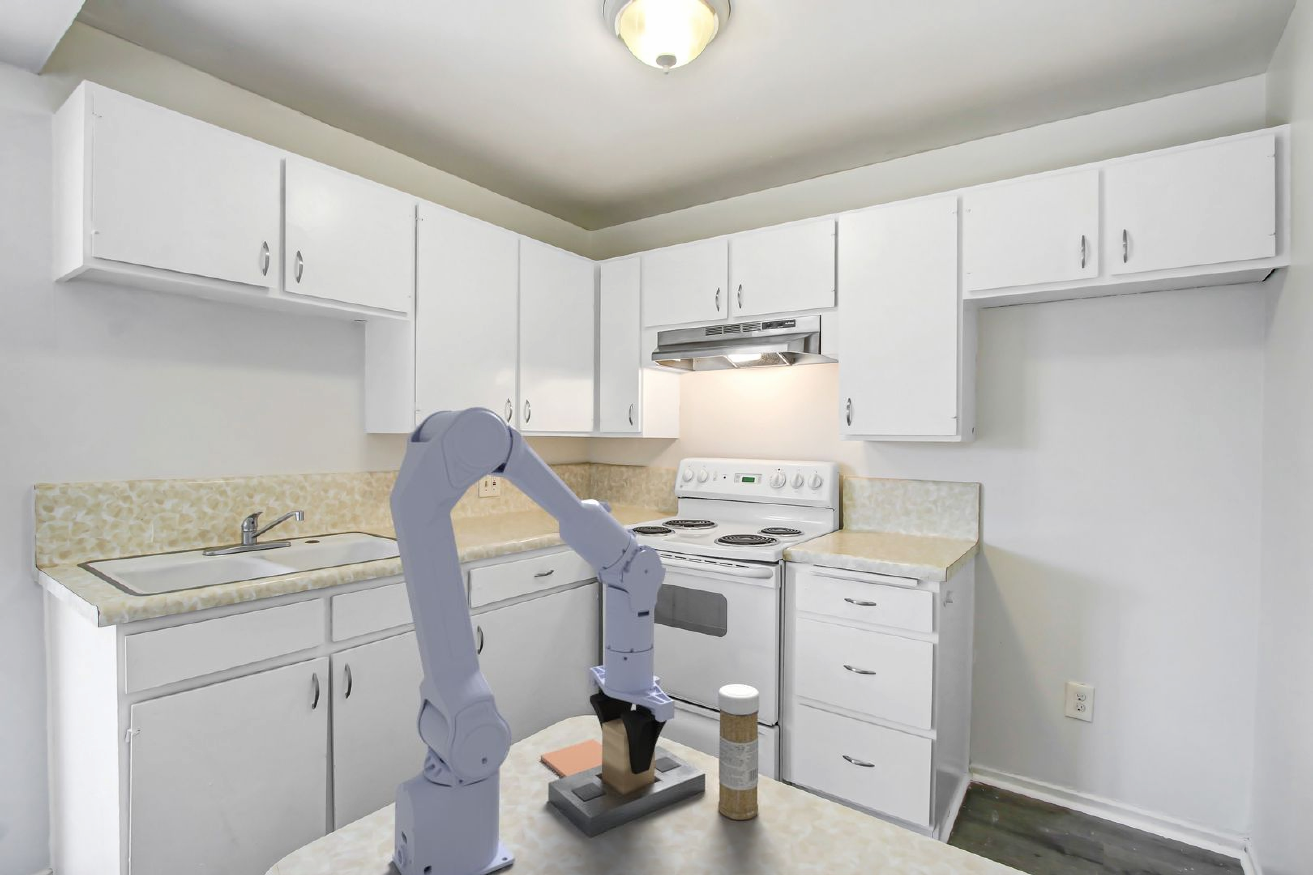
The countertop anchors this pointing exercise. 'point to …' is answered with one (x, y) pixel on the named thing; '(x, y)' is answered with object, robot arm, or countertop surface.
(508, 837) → the countertop surface
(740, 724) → the sprinkles bottle
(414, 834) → the robot arm
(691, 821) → the countertop surface
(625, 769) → the wooden peg
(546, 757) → the tile
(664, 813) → the countertop surface
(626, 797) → the square hole bar
